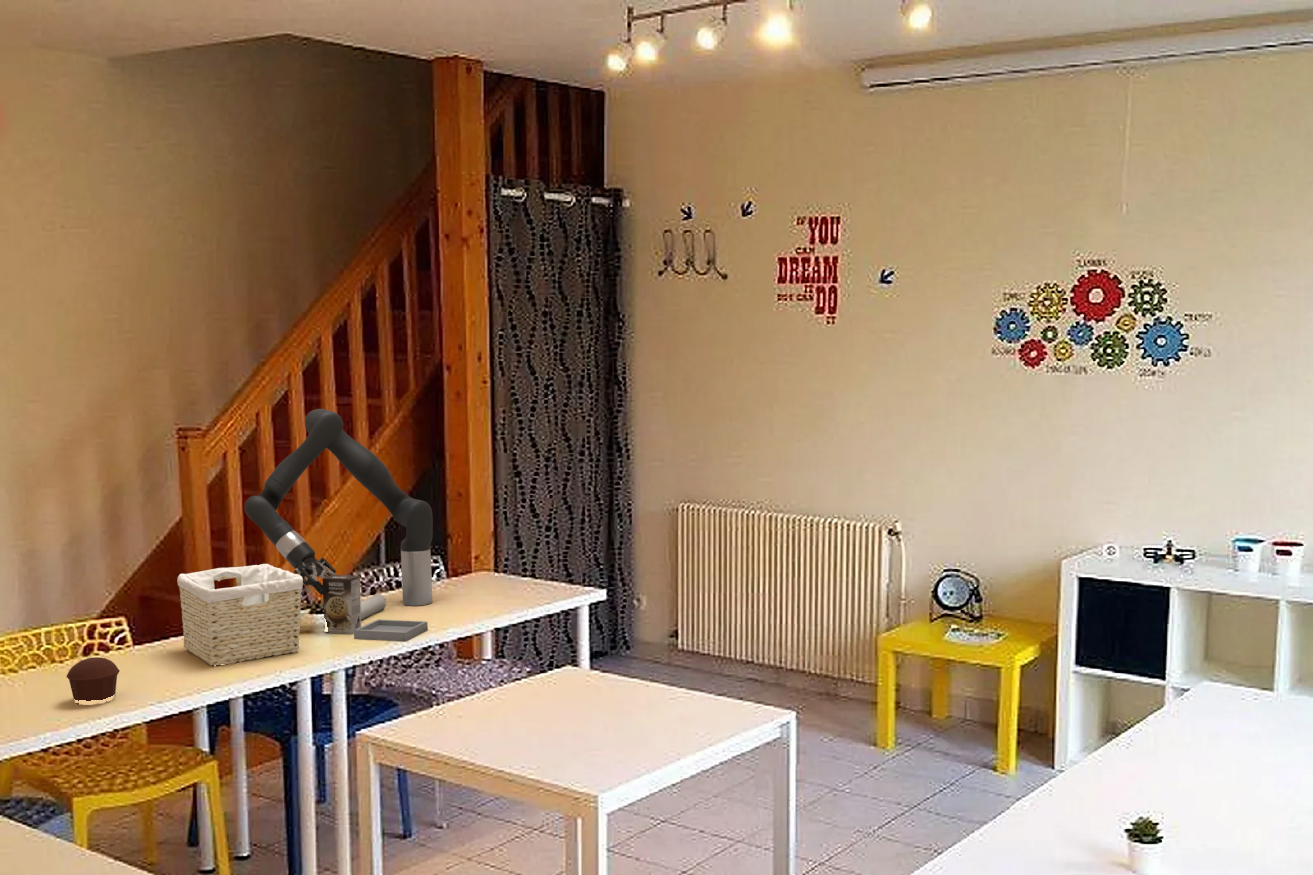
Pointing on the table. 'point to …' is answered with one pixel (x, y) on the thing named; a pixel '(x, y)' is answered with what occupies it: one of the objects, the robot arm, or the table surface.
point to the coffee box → (342, 603)
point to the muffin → (93, 679)
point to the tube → (372, 605)
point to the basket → (241, 613)
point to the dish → (390, 630)
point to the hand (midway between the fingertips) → (331, 589)
